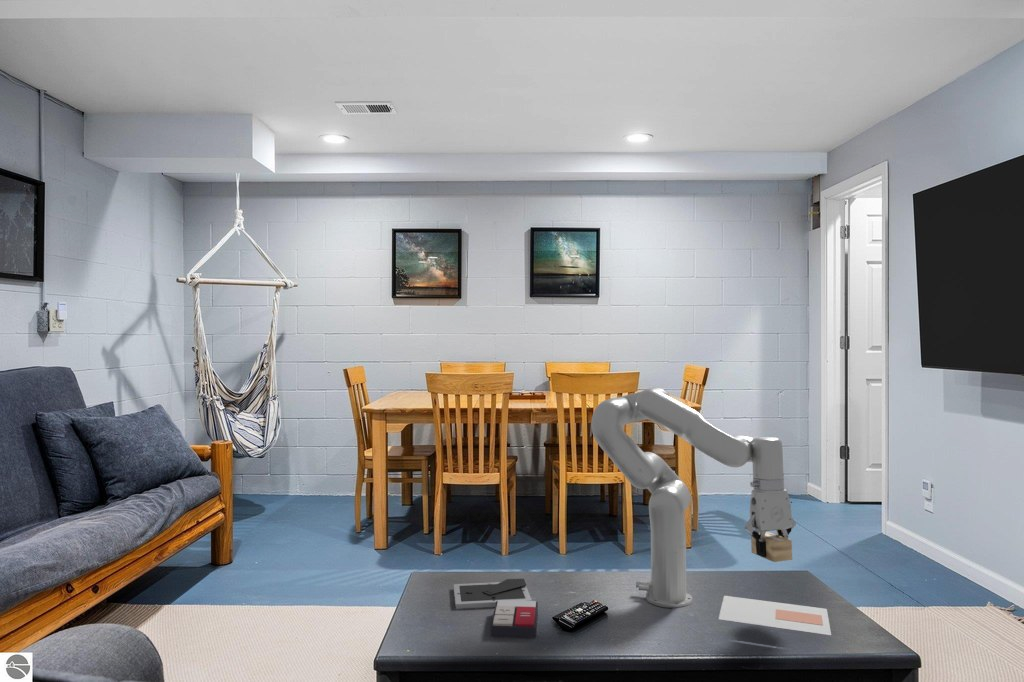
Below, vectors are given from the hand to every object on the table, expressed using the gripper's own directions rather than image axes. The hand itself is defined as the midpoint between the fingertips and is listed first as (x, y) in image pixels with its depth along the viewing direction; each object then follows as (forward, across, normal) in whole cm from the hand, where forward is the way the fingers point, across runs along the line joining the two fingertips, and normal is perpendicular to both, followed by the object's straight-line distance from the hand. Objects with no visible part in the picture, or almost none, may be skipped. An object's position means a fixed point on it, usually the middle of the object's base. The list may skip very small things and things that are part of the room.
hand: (771, 553), depth 171 cm
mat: (+16, 0, 0) cm, 16 cm away
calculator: (+15, -66, +14) cm, 69 cm away
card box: (+1, 0, 0) cm, 1 cm away
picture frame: (+15, -67, +35) cm, 77 cm away
